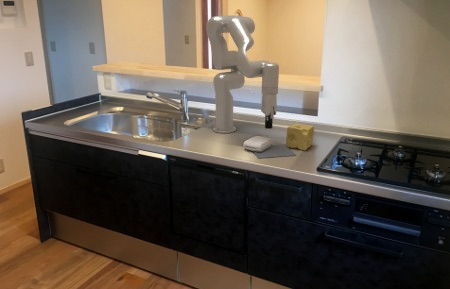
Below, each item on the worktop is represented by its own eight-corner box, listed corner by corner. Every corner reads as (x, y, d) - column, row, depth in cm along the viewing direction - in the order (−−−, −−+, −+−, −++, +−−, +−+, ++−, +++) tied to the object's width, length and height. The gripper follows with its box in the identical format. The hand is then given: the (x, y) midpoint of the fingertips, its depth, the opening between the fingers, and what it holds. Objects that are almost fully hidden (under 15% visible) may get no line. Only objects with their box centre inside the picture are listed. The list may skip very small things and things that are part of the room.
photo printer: (273, 138, 193) (260, 145, 183) (273, 146, 194) (259, 154, 185) (255, 134, 198) (241, 141, 189) (254, 142, 200) (241, 149, 190)
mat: (249, 147, 195) (249, 146, 194) (284, 144, 198) (284, 143, 198) (258, 158, 180) (258, 158, 180) (296, 155, 183) (296, 155, 183)
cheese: (305, 151, 189) (307, 130, 185) (284, 146, 194) (285, 126, 191) (313, 145, 197) (315, 125, 194) (292, 141, 202) (294, 122, 199)
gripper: (257, 87, 192) (256, 124, 198) (266, 93, 178) (265, 133, 184) (272, 86, 193) (271, 123, 199) (283, 93, 179) (281, 132, 185)
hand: (268, 128), depth 192 cm, fingers closed
